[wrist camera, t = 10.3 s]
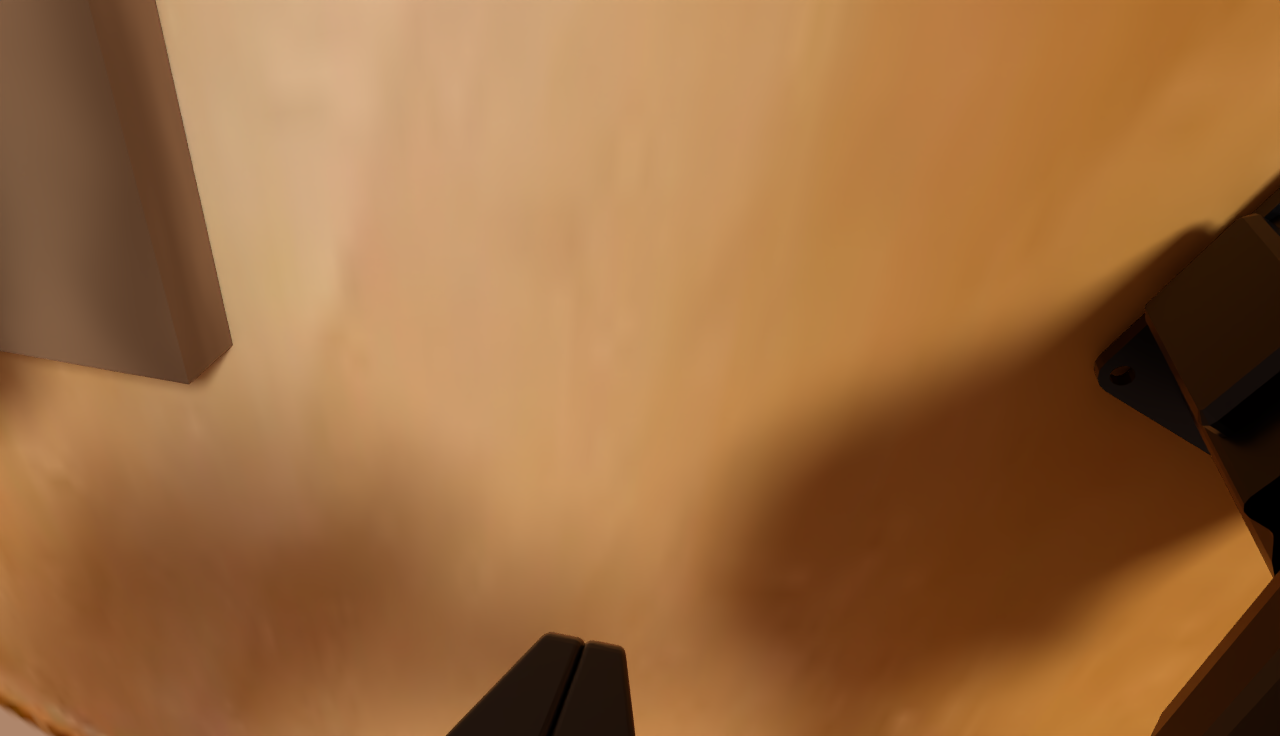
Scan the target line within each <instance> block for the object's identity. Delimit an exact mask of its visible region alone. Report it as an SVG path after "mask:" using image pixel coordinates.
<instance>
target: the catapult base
mask: <svg viewBox="0 0 1280 736" xmlns="http://www.w3.org/2000/svg"><path fill="white" fill-rule="evenodd" d="M231 346H232V340H231V336H230V332H229V327H228V323H227V318H226V314H225V309H224V305H223V300H222V296H221V292H220V287H219V283H218V278H217V274H216V269H215V265H214V260H213V256H212V252H211V247H210V243H209V238H208V234H207V229H206V225H205V220H204V216H203V212H202V207H201V203H200V198H199V194H198V189H197V185H196V180H195V176H194V172H193V167H192V163H191V158H190V154H189V149H188V145H187V140H186V136H185V132H184V127H183V123H182V118H181V114H180V109H179V105H178V100H177V96H176V92H175V87H174V83H173V78H172V74H171V69H170V65H169V60H168V56H167V52H166V47H165V43H164V38H163V34H162V29H161V25H160V21H159V16H158V12H157V7H156V3H155V0H0V351H3V352H9V353H15V354H20V355H26V356H32V357H37V358H43V359H49V360H54V361H60V362H66V363H71V364H77V365H82V366H88V367H94V368H99V369H105V370H111V371H116V372H122V373H128V374H133V375H139V376H145V377H150V378H156V379H162V380H167V381H173V382H179V383H184V384H190V383H191V382H192V381H193V380H195V379H196V378H197V377H198V376H199V375H200V374H201V373H202V372H203V371H204V370H206V369H207V368H208V367H209V366H210V365H211V364H212V363H213V362H214V361H216V360H217V359H218V358H219V357H220V356H221V355H222V354H223V353H224V352H226V351H227V350H228V349H229V348H230V347H231Z"/></svg>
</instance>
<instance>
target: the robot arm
mask: <svg viewBox="0 0 1280 736" xmlns="http://www.w3.org/2000/svg"><path fill="white" fill-rule="evenodd" d="M1119 366H1128V367H1131V368H1130V369H1129V371H1128V372H1127V373H1125V374H1123V375H1118V376H1114V375H1111V372H1112V371H1113V370H1114V369H1115V368H1117V367H1119ZM1094 371H1095V374H1096V377H1097V380H1098V382H1099V385H1100V386H1101V387H1102V388H1103V389H1104V390H1105V391H1106V392H1108V393H1109V394H1111V395H1113V396H1114V397H1116V398H1118V399H1119V400H1121V401H1122V402H1124V403H1126V404H1127V405H1129V406H1131V407H1132V408H1134V409H1136V410H1137V411H1139V412H1140V413H1142V414H1144V415H1145V416H1147V417H1149V418H1150V419H1152V420H1154V421H1155V422H1157V423H1159V424H1160V425H1162V426H1163V427H1165V428H1167V429H1168V430H1170V431H1172V432H1173V433H1175V434H1177V435H1178V436H1180V437H1182V438H1183V439H1185V440H1186V441H1188V442H1190V443H1191V444H1193V445H1195V446H1196V447H1198V448H1200V449H1201V450H1203V451H1204V452H1206V453H1208V454H1209V455H1211V456H1212V458H1213V460H1214V462H1215V464H1216V466H1217V468H1218V470H1219V472H1220V474H1221V476H1222V478H1223V480H1224V482H1225V484H1226V486H1227V488H1228V490H1229V492H1230V494H1231V496H1232V498H1233V500H1234V502H1235V504H1236V506H1237V508H1238V509H1239V511H1240V513H1241V515H1242V517H1243V519H1244V521H1245V523H1246V525H1247V527H1248V529H1249V531H1250V533H1251V535H1252V537H1253V539H1254V541H1255V543H1256V545H1257V547H1258V549H1259V551H1260V553H1261V555H1262V557H1263V559H1264V561H1265V563H1266V565H1267V567H1268V569H1269V571H1270V573H1271V575H1272V576H1273V579H1272V580H1271V582H1270V583H1269V584H1268V585H1267V586H1266V588H1265V589H1264V590H1263V591H1262V592H1261V594H1260V595H1259V596H1258V597H1257V599H1256V600H1255V601H1254V602H1253V603H1252V605H1251V606H1250V607H1249V608H1248V609H1247V611H1246V612H1245V613H1244V614H1243V615H1242V617H1241V618H1240V619H1239V620H1238V622H1237V623H1236V624H1235V625H1234V626H1233V628H1232V629H1231V630H1230V631H1229V632H1228V634H1227V635H1226V636H1225V637H1224V639H1223V640H1222V641H1221V642H1220V643H1219V645H1218V646H1217V647H1216V648H1215V649H1214V651H1213V652H1212V653H1211V654H1210V655H1209V657H1208V658H1207V659H1206V660H1205V662H1204V663H1203V664H1202V665H1201V666H1200V668H1199V669H1198V670H1197V671H1196V672H1195V674H1194V675H1193V676H1192V677H1191V679H1190V680H1189V681H1188V682H1187V683H1186V685H1185V686H1184V687H1183V688H1182V689H1181V691H1180V692H1179V693H1178V694H1177V695H1176V697H1175V698H1174V699H1173V700H1172V702H1171V703H1170V704H1169V705H1168V706H1167V708H1166V709H1165V710H1164V711H1163V712H1162V714H1161V716H1160V718H1159V720H1158V722H1157V724H1156V726H1155V728H1154V730H1153V732H1152V734H1151V736H1280V188H1279V189H1278V190H1277V191H1276V192H1275V193H1274V194H1273V195H1271V196H1270V197H1269V198H1268V199H1267V200H1266V201H1265V202H1264V203H1263V204H1262V205H1261V206H1260V207H1259V208H1258V209H1256V210H1255V211H1254V212H1253V213H1252V214H1251V215H1247V216H1244V217H1240V218H1238V219H1237V220H1236V221H1235V222H1234V223H1233V224H1232V225H1230V226H1229V227H1228V228H1227V229H1226V230H1225V231H1224V232H1223V233H1222V234H1221V235H1220V236H1219V237H1218V238H1217V239H1215V240H1214V241H1213V242H1212V243H1211V244H1210V245H1209V246H1208V247H1207V248H1206V249H1205V250H1204V251H1203V252H1202V253H1201V254H1199V255H1198V256H1197V257H1196V258H1195V259H1194V260H1193V261H1192V262H1191V263H1190V264H1189V265H1188V266H1187V267H1186V268H1185V269H1183V270H1182V271H1181V272H1180V273H1179V274H1178V275H1177V276H1176V277H1175V278H1174V279H1173V280H1172V281H1171V282H1170V283H1169V284H1167V285H1166V286H1165V287H1164V288H1163V289H1162V290H1161V291H1160V292H1159V293H1158V294H1157V295H1156V296H1155V297H1154V298H1153V299H1151V300H1150V301H1149V302H1148V303H1147V304H1146V306H1145V314H1144V315H1143V316H1141V317H1140V318H1139V319H1138V320H1137V321H1136V322H1135V323H1134V324H1133V325H1132V326H1131V327H1130V328H1129V329H1127V330H1126V331H1125V332H1124V333H1123V334H1122V335H1121V336H1120V337H1119V338H1118V339H1117V340H1116V341H1115V342H1114V343H1112V344H1111V345H1110V346H1109V347H1108V348H1107V349H1106V350H1105V351H1104V352H1103V353H1102V354H1101V355H1100V356H1099V357H1098V359H1097V360H1096V361H1095V365H1094ZM446 736H635V728H634V720H633V711H632V703H631V695H630V686H629V678H628V669H627V661H626V654H625V650H624V649H623V648H622V647H621V646H619V645H614V644H609V643H604V642H599V641H594V640H593V641H588V642H587V643H586V644H585V643H584V641H583V640H582V639H581V638H579V637H574V636H569V635H564V634H559V633H554V632H549V633H547V634H545V635H543V636H542V637H541V638H540V639H539V640H538V641H537V642H536V643H535V644H534V645H533V646H532V647H531V648H530V649H529V650H528V651H527V652H526V653H525V654H524V655H523V656H522V657H521V658H520V659H519V660H518V661H517V663H516V664H515V665H514V666H513V667H512V668H511V669H510V670H509V671H508V672H507V673H506V674H505V675H504V676H503V677H502V678H501V679H500V680H499V681H498V682H497V683H496V684H495V685H494V686H493V687H492V688H491V689H490V690H489V691H488V693H487V694H486V695H485V696H484V697H483V698H482V699H481V700H480V701H479V702H478V703H477V704H476V705H475V706H474V707H473V708H472V709H471V710H470V711H469V712H468V713H467V714H466V715H465V716H464V717H463V718H462V719H461V720H460V721H459V723H458V724H457V725H456V726H455V727H454V728H453V729H452V730H451V731H450V732H449V733H448V734H447V735H446Z"/></svg>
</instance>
